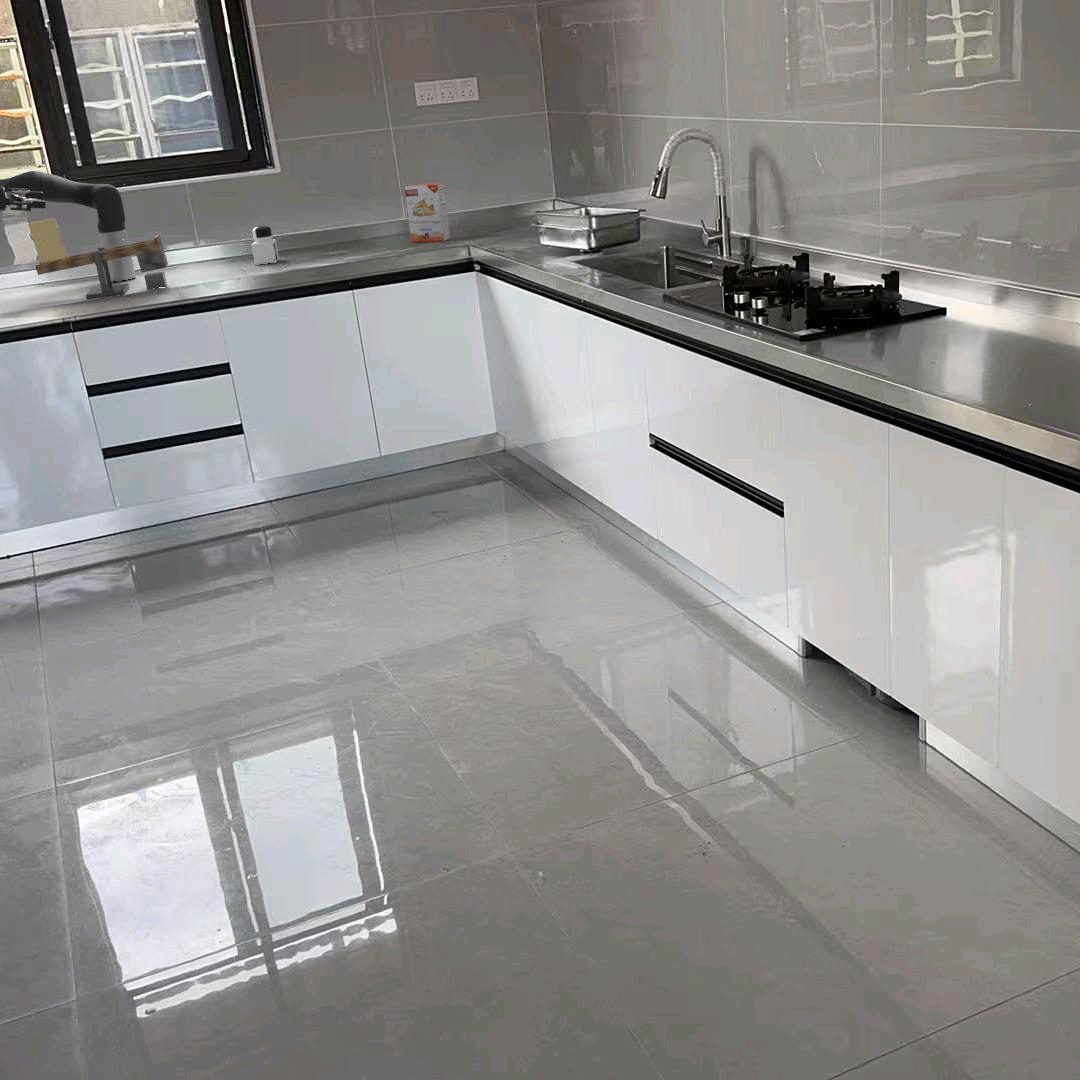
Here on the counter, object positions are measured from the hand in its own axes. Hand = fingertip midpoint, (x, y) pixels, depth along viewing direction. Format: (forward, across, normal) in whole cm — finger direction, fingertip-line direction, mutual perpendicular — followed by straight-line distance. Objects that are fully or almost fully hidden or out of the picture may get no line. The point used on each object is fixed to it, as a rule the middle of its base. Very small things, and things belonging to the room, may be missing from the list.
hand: (44, 200), depth 387 cm
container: (+76, -16, -26) cm, 82 cm away
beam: (+18, +3, -25) cm, 31 cm away
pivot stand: (+25, +6, -28) cm, 38 cm away
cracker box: (+136, -11, -14) cm, 137 cm away
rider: (+3, -1, -22) cm, 22 cm away
